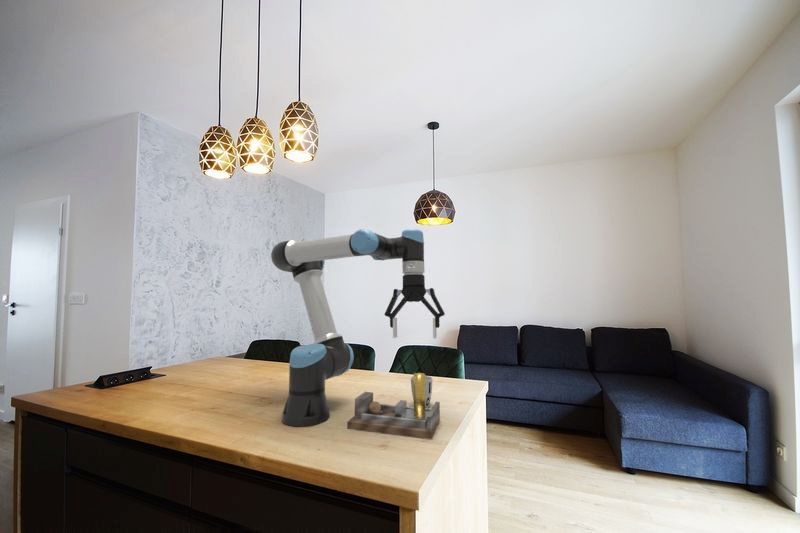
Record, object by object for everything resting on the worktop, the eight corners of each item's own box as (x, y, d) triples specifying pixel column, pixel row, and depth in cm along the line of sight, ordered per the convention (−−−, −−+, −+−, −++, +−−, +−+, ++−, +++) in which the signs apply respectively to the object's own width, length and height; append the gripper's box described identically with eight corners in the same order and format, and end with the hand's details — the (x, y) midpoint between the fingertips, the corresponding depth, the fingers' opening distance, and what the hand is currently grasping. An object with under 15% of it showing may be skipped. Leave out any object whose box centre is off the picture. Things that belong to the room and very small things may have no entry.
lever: (394, 421, 95) (394, 375, 97) (401, 413, 102) (401, 370, 104) (426, 425, 92) (426, 377, 94) (431, 416, 99) (431, 372, 101)
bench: (347, 428, 96) (347, 401, 97) (365, 413, 109) (365, 389, 110) (431, 439, 88) (430, 409, 89) (439, 421, 102) (439, 395, 103)
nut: (366, 416, 100) (366, 402, 100) (371, 411, 103) (371, 399, 104) (378, 417, 99) (378, 404, 99) (382, 413, 102) (382, 400, 103)
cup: (431, 410, 112) (431, 381, 113) (409, 408, 113) (409, 380, 115) (433, 403, 120) (433, 376, 121) (412, 401, 121) (412, 375, 122)
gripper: (375, 274, 107) (375, 338, 105) (449, 272, 101) (451, 339, 99) (382, 276, 114) (382, 336, 112) (451, 274, 108) (453, 337, 106)
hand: (414, 337), depth 105 cm, fingers open, 13 cm apart
